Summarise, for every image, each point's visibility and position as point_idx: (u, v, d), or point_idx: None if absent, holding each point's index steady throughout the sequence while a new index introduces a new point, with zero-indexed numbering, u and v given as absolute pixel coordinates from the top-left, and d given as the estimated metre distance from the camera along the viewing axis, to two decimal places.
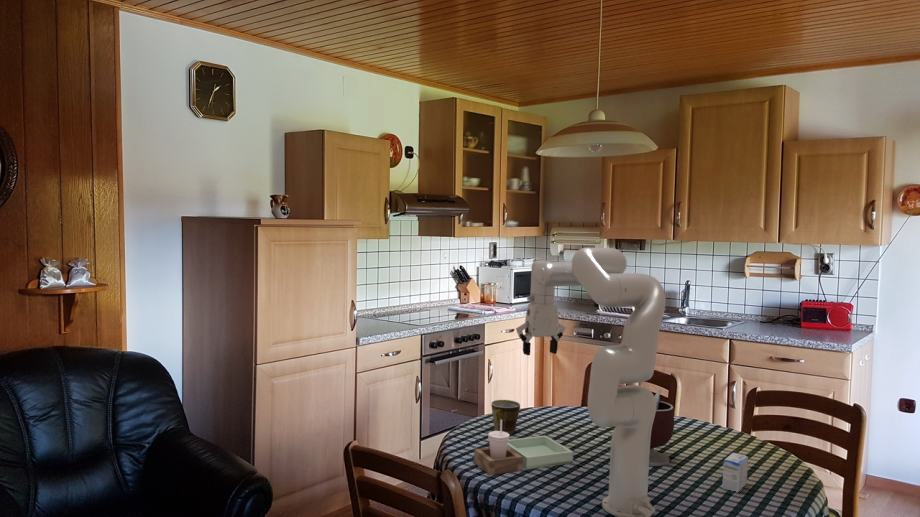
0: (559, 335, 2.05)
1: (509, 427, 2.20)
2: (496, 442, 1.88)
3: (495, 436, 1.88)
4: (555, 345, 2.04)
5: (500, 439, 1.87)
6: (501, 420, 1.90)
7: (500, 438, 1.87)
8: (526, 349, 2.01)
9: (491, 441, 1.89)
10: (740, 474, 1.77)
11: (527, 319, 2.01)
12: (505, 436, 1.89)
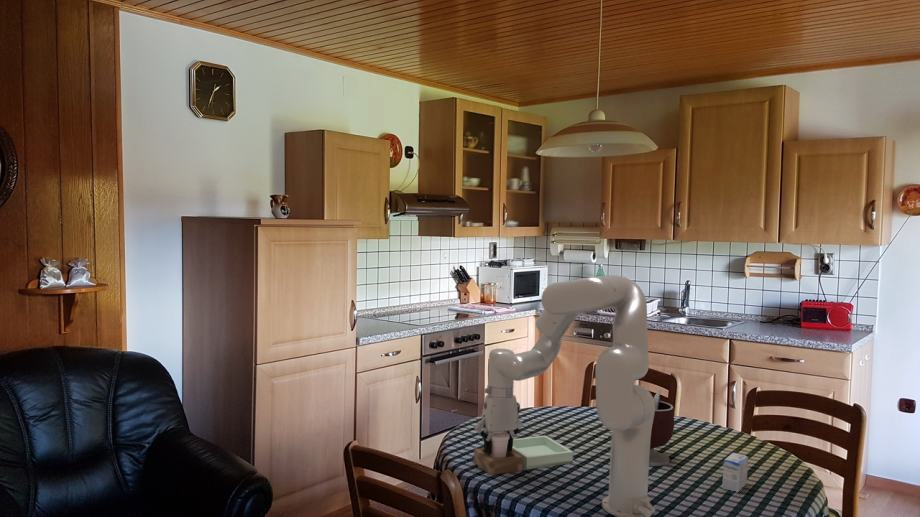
0: (515, 431, 1.92)
1: None
2: (496, 442, 1.88)
3: (495, 436, 1.88)
4: (510, 442, 1.90)
5: (500, 439, 1.87)
6: None
7: (500, 438, 1.87)
8: (487, 447, 1.88)
9: None
10: (740, 474, 1.77)
11: (484, 413, 1.88)
12: (505, 436, 1.89)
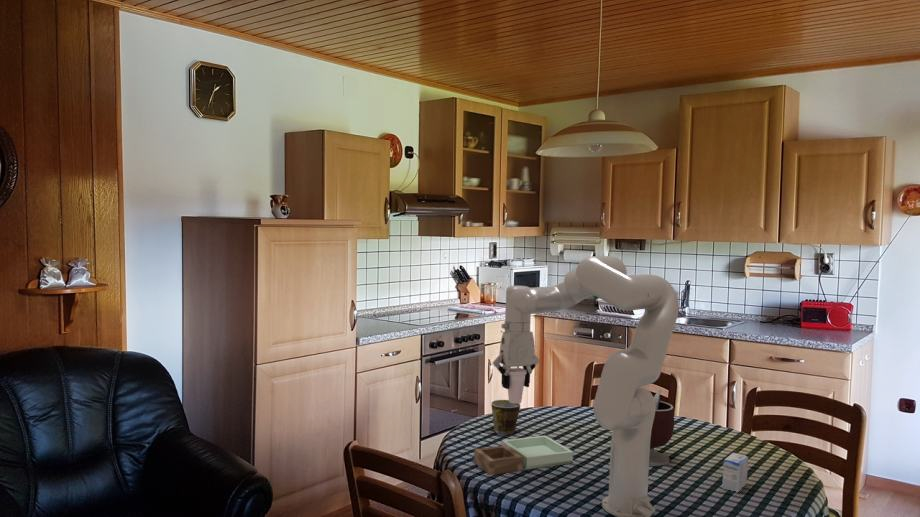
0: (531, 367, 1.94)
1: (509, 427, 2.20)
2: (514, 377, 1.90)
3: (513, 371, 1.91)
4: (527, 378, 1.93)
5: (518, 373, 1.90)
6: None
7: (518, 372, 1.90)
8: (505, 382, 1.90)
9: None
10: (740, 474, 1.77)
11: (502, 348, 1.90)
12: (522, 371, 1.91)
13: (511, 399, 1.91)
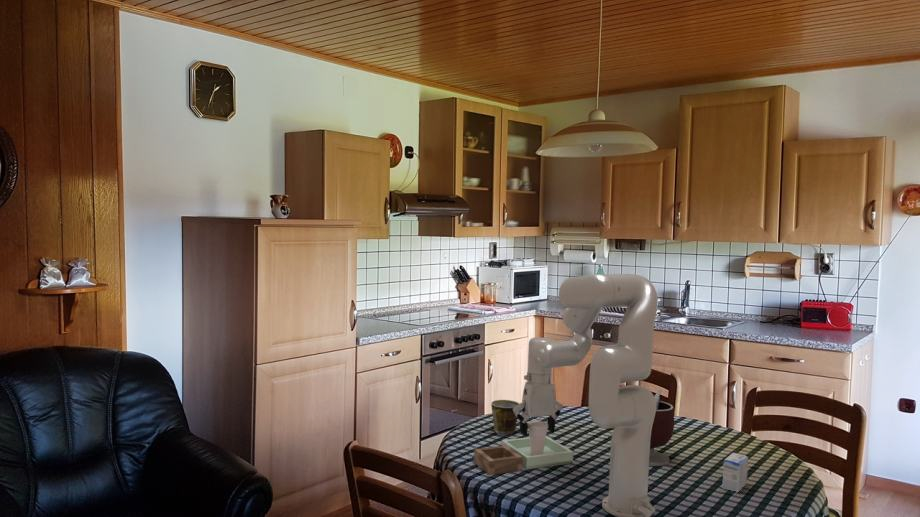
0: (557, 413, 2.01)
1: (509, 427, 2.20)
2: (536, 431, 1.96)
3: (535, 425, 1.97)
4: (553, 424, 2.00)
5: (540, 428, 1.96)
6: None
7: (540, 427, 1.96)
8: (523, 429, 1.96)
9: (531, 430, 1.97)
10: (740, 474, 1.77)
11: (524, 398, 1.97)
12: (544, 425, 1.97)
13: (533, 452, 1.98)
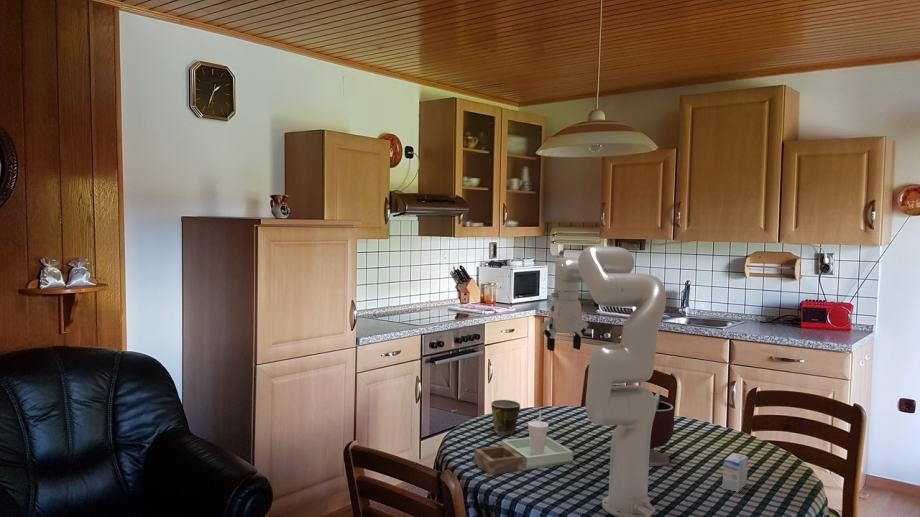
0: (582, 331, 2.08)
1: (509, 427, 2.20)
2: (536, 431, 1.96)
3: (535, 426, 1.97)
4: (578, 341, 2.07)
5: (540, 428, 1.96)
6: (540, 410, 1.98)
7: (540, 427, 1.96)
8: (550, 345, 2.03)
9: (531, 430, 1.97)
10: (740, 474, 1.77)
11: (551, 315, 2.04)
12: (544, 426, 1.97)
13: (533, 452, 1.98)
